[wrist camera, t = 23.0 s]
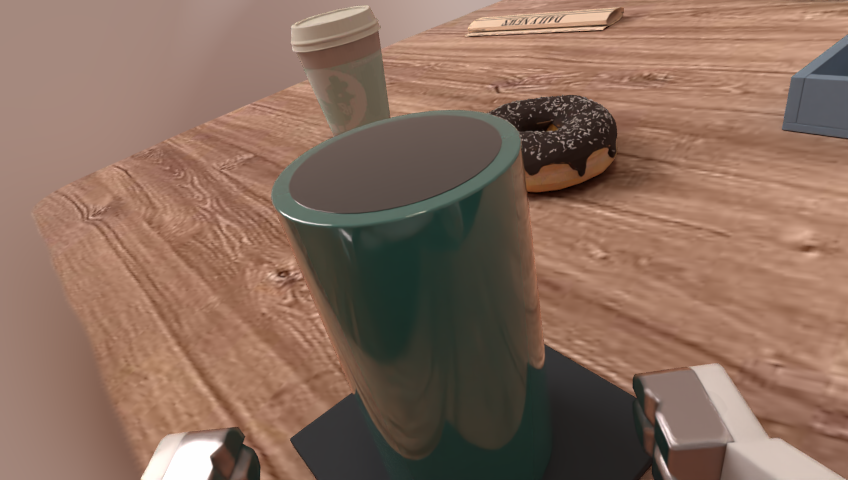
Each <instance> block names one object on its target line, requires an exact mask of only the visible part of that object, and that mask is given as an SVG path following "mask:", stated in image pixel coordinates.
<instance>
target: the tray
mask: <svg viewBox="0 0 848 480" xmlns="http://www.w3.org/2000/svg"><path fill="white" fill-rule="evenodd" d="M782 130H789V131H796V132H804V133H811V134H819V135H826V136H833V137H841V138H848V35H846V36H845V37H844V38H842V39H841V40H840V41H838V42H837V43H836V44H834V45H833V46H832V47H830V48H829V49H828V50H826V51H825V52H824V53H823V54H821V55H820V56H819V57H817V58H816V59H815V60H813V61H812V62H811V63H809V64H808V65H807V66H805V67H804V68H803V69H801V70H800V71H799V72H798V73H796V74H795V75H794V76H792V77H791V83H790V88H789V93H788V99H787V104H786V110H785V115H784V122H783V126H782Z"/></svg>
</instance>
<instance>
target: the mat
mask: <svg viewBox="0 0 848 480" xmlns="http://www.w3.org/2000/svg"><path fill="white" fill-rule="evenodd" d="M544 348H545V357H546V366H547V375H548V384H549V393H550V403H551V412H552V421H553V431H554V442H553V451H552V454H551V458H550V461H549V464H548V466H547V468H546V470H545V472H544V474H543V475H542V477H541V479H540V480H639V478H640V477H641V476H642V475H643V474H644V472H645V471H646V470H647V469H648V468H649V466H650V465H651V464H652V458H651V457H649V456H648V455H647V454H646V453H644V452H643V450H642V447H641V445H640V442H639V439H638V436H637V433H636V430H635V425H634V419H633V411H632V402H633V401H634V400H635V399H636V398H635V397H634V396H632V395H630V394H629V393H627V392H625V391H623V390H622V389H620V388H618V387H617V386H615V385H613V384H612V383H610V382H608V381H606V380H605V379H603V378H601V377H600V376H598V375H596V374H594V373H593V372H591V371H589V370H588V369H586V368H584V367H582V366H581V365H579V364H577V363H576V362H574V361H572V360H570V359H569V358H567V357H565V356H564V355H562V354H560V353H558V352H557V351H555V350H553V349H552V348H550V347H548V346H546V345H545V344H544ZM290 441H291V443H292V444H293V446H294V447H295V449H296V450H297V452H298V453H299V455H300V456H301V457H302V459H303V460H304V462H305V463H306V464H307V466H308V467H309V469H310V470H311V472H312V473H313V474H314V476H315V477H316V479H317V480H390V479H389V477H388V475H387V473H386V471H385V469H384V466H383V464H382V461H381V459H380V457H379V454H378V452H377V450H376V447H375V445H374V443H373V440H372V438H371V436H370V433H369V431H368V428H367V426H366V424H365V421H364V419H363V417H362V414H361V412H360V410H359V407H358V405H357V403H356V400H355V398H354V395H353V393H351V394H350V395H348V396H347V397H346V398H344V399H343V400H342V401H340V402H339V403H338V404H336V405H335V406H333V407H332V408H331V409H329V410H328V411H327V412H325V413H324V414H323V415H321V416H320V417H319V418H317V419H316V420H315V421H313V422H312V423H311V424H309V425H308V426H306V427H305V428H304V429H302V430H301V431H300V432H298V433H297V434H296V435H294V436H293V437H292V438H290Z"/></svg>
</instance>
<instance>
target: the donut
mask: <svg viewBox="0 0 848 480" xmlns="http://www.w3.org/2000/svg"><path fill="white" fill-rule="evenodd" d="M487 114H491V115H495V116H498V117H500V118H503V119H505V120H506V121H508V122H510V123H511V124H512V125H513V126H515V128H516V129H517V130H518V132H519V133H520V136H521V139H522V146H523V156H524V165H525V174H526V183H527V192H544V191H552V190H560V189H563V188H566V187H569V186H573V185H576V184H579V183H582V182H584V181H586V180H588V179H590V178H592V177H595V176H597V175H599V174H601V173H603V172H604V170H605V169H606V168H607V167H608V166H609V165H610V164H611V163H612V161H613V160H614V158H615V156H616V155H617V144H616V138H617V127H616V122H615V120H614V118H613V117H612V115H611V114H610V113H609V112H608V110H607V109H606V108H604V107H603V105H601V104H598V103H597V102H594V101H592V100H589V99H587V98H586V97H581V96H577V95H566V96H563V95H562V96H556V97H553V96H552V97H542V96H541V98H536V99H527V100H521V101H515V102H512V103H507V104H504V105H502V106H500V107H498V108H496V109H495V110H493V111H491V112H489V113H487Z"/></svg>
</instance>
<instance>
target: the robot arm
mask: <svg viewBox="0 0 848 480" xmlns="http://www.w3.org/2000/svg"><path fill="white" fill-rule="evenodd" d="M633 389H634V392H635V394H636V397H637V398H636V399H635V400H634V401H633V402H632V411H633V419H634V425H635V430H636V433H637V436H638V439H639V442H640V445H641V447H642V450H643V452H644V453H646V454H647V455H648V456H649V457H651V458H652V475H653V478H654V480H846V479H845V478H843V477H841V476H840V475H838V474H837V473H835V472H833V471H832V470H830V469H829V468H827V467H825V466H824V465H822V464H821V463H819V462H817V461H816V460H814V459H813V458H811V457H809V456H808V455H806V454H805V453H803V452H801V451H800V450H798V449H796V448H795V447H793V446H792V445H790V444H788V443H787V442H785V441H784V440H782V439H780V438H769V436H768V435H767V433H766V432H765V430H764V429H763V427H762V426H761V424H760V423H759V421H758V419H757V418H756V416H755V415H754V413H753V412H752V410H751V409H750V407H749V406H748V404H747V403H746V401H745V400H744V398H743V397H742V395H741V394H740V392H739V391H738V389H737V388H736V386H735V384H734V383H733V381H732V380H731V378H730V377H729V375H728V374H727V372H726V371H725V369H724V368H723V367H722V366H721V365H719V364H718V363H715V364H708V365H700V366H692V367H681V368H674V369H667V370H660V371H653V372H646V373H639V374H635V375H634V377H633ZM244 438H245V436H244V434H243V433H242V432H241V430H240V429H239V428H238V427H232V428H222V429H212V430H202V431H192V432H184V433H176V434H168V435H167V436H166V437H165V438H163V439H162V440H161V441H160V443H159V445H158V447H157V449H156V451H155V453H154V455H153V457H152V458H151V460H150V462H149V464H148V466H147V468H146V470H145V472H144V474H143V476H142V478H141V479H140V480H260V463H259V459H258V456H257V455H256V453H255V451H254V450H253V449H252V448H250V447H248V446H246V445H244V444H243V441H244Z"/></svg>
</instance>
